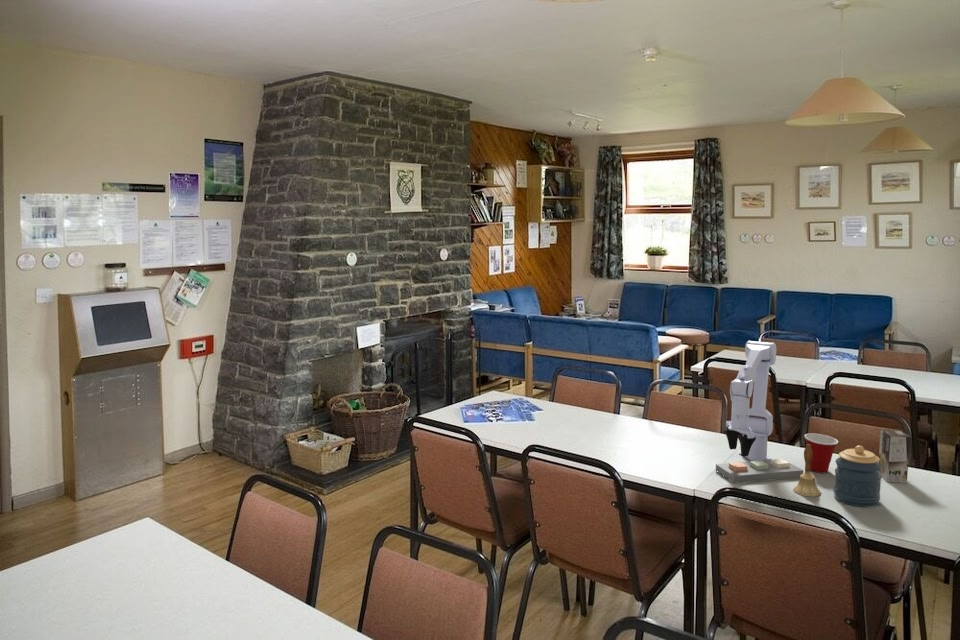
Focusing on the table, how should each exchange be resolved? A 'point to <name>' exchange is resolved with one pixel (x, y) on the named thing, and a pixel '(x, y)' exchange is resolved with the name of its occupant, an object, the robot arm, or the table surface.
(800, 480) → the hand bell
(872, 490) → the canister
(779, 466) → the cream key
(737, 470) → the terracotta key
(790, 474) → the keypad
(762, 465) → the sage key
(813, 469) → the plastic cup
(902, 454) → the coffee box
